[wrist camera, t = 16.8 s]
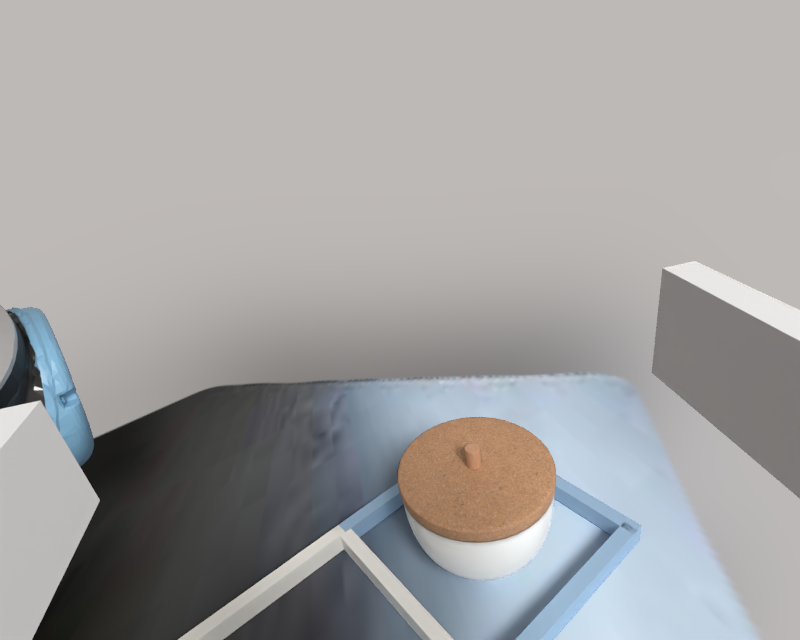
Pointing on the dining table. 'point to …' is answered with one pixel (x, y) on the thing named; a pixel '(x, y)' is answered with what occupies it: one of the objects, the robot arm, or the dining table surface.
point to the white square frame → (266, 591)
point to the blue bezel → (582, 583)
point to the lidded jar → (478, 495)
